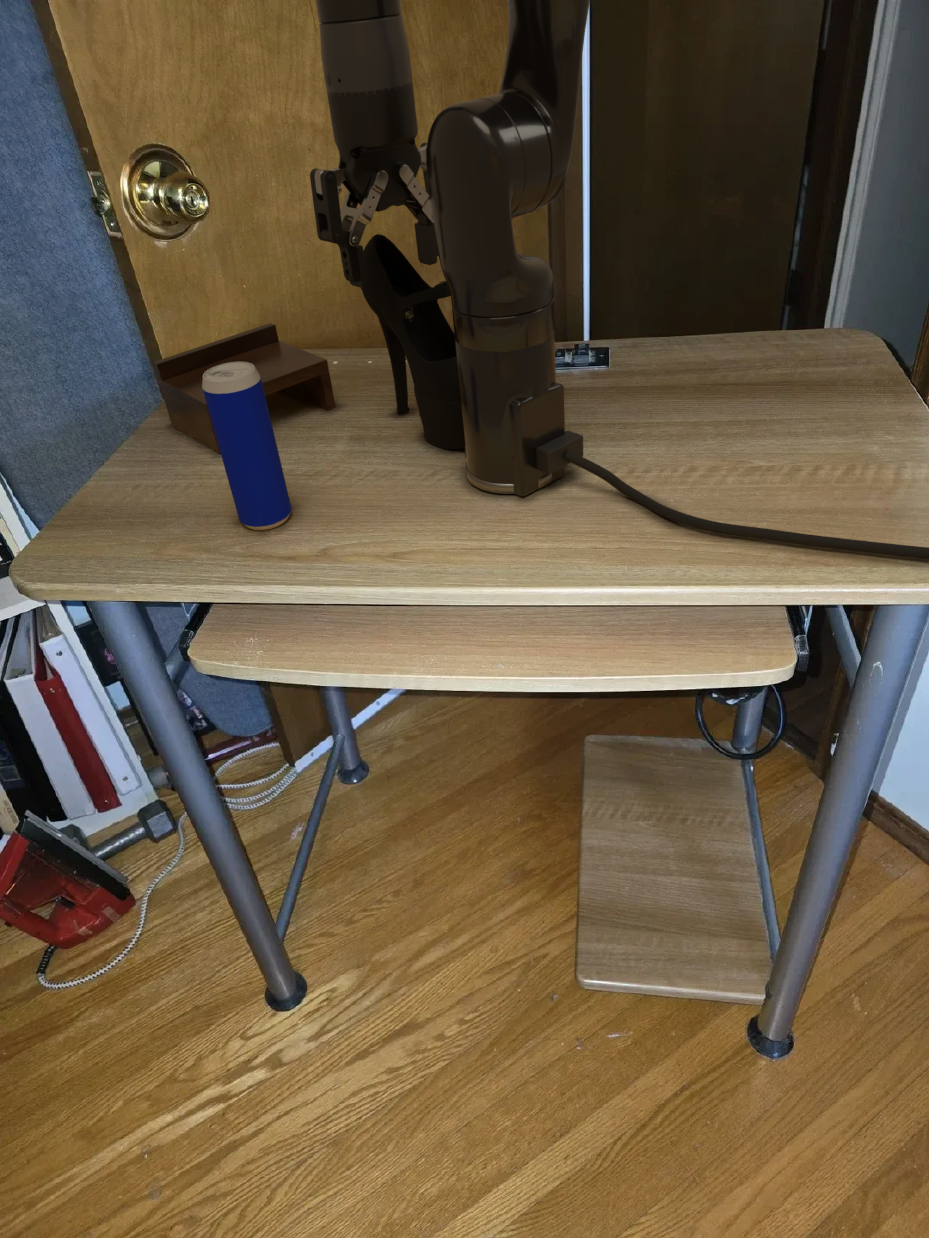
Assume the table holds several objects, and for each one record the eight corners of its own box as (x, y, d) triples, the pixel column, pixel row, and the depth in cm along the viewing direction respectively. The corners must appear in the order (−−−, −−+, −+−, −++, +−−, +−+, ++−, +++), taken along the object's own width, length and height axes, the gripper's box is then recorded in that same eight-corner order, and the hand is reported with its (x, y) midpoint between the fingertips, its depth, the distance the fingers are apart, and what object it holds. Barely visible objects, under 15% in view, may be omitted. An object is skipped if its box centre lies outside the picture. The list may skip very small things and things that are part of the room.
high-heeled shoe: (466, 466, 91) (446, 266, 80) (364, 418, 104) (333, 239, 92) (523, 440, 95) (512, 245, 83) (417, 396, 108) (395, 222, 96)
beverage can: (300, 505, 88) (266, 359, 79) (282, 533, 84) (244, 382, 75) (252, 504, 89) (213, 360, 80) (232, 531, 85) (189, 383, 76)
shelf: (336, 407, 107) (324, 342, 102) (219, 454, 99) (200, 386, 94) (284, 384, 115) (270, 322, 110) (172, 426, 107) (152, 362, 102)
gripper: (324, 96, 71) (357, 301, 80) (459, 70, 77) (474, 261, 87) (276, 94, 75) (313, 287, 85) (406, 69, 82) (427, 251, 92)
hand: (394, 274), depth 86 cm, fingers open, 8 cm apart
